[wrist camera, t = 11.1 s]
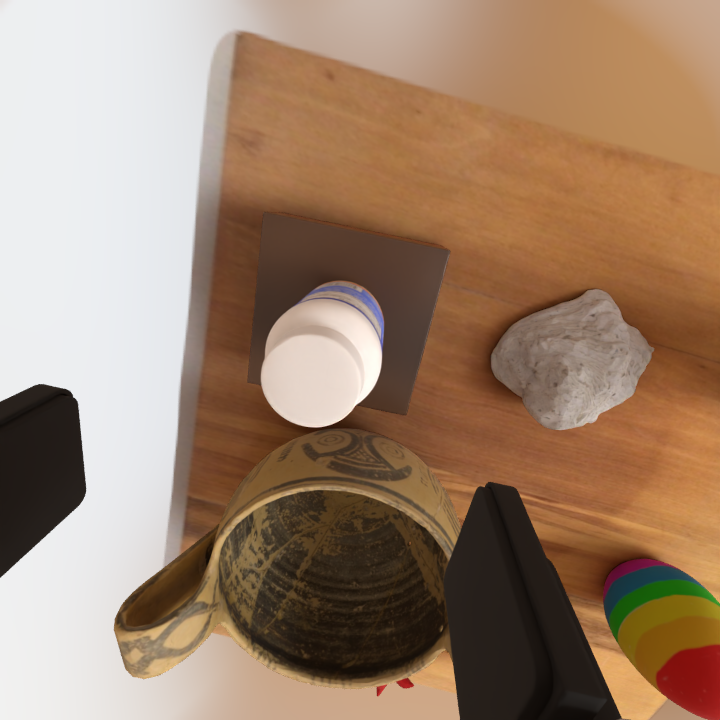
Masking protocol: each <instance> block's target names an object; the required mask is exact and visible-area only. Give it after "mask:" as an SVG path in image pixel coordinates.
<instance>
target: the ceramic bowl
mask: <svg viewBox="0 0 720 720" xmlns="http://www.w3.org/2000/svg"><path fill="white" fill-rule="evenodd" d="M460 531H461V526H460V523H459V520H458V517H457V514H456V511H455V509H454V507H453V504H452V502H451V500H450V498H449V496H448V494H447V492H446V490H445V489H444V487H443V486H442V484H441V483H440V481H439V480H438V479H437V477H436V476H435V474H434V473H433V472H432V471H431V470H430V469H429V468H428V466H427V465H426V464H425V463H424V462H423V461H422V460H421V459H420V458H419V457H418V456H417V455H415V454H414V453H413V452H411V451H410V450H409V449H407V448H406V447H404V446H403V445H401V444H399V443H397V442H395V441H393V440H391V439H389V438H387V437H385V436H382V435H380V434H377V433H374V432H370V431H366V430H361V429H350V428H334V429H325V430H320V431H316V432H312V433H309V434H307V435H304V436H301V437H298V438H295V439H293V440H291V441H289V442H287V443H286V444H284V445H282V446H280V447H279V448H277V449H275V450H274V451H272V452H271V453H270V454H269V455H267V456H266V457H265V458H264V459H263V460H261V461H260V462H259V463H258V464H257V465H256V466H255V467H254V468H253V469H252V470H251V471H250V473H249V474H248V475H247V476H246V477H245V478H244V479H243V481H242V482H241V483H240V485H239V486H238V488H237V489H236V491H235V492H234V494H233V496H232V497H231V499H230V501H229V503H228V505H227V508H226V510H225V512H224V514H223V517H222V519H221V522H220V523H219V524H218V525H217V526H216V527H215V528H214V529H213V530H211V531H210V532H209V533H208V534H206V535H205V536H204V537H203V538H201V539H200V540H199V541H197V542H196V543H195V544H194V545H192V546H191V547H190V548H189V549H187V550H186V551H185V552H183V553H182V554H181V555H180V556H178V557H177V558H176V559H175V560H173V561H172V562H171V563H169V564H168V565H167V566H165V567H164V568H163V569H162V570H161V571H159V572H158V573H156V574H155V575H154V576H152V577H151V578H150V579H148V580H147V581H146V582H145V583H143V584H142V585H141V586H140V587H139V588H138V589H136V590H135V591H134V592H133V593H132V594H131V595H130V596H129V597H128V598H127V599H126V600H125V602H124V603H123V604H122V606H121V607H120V609H119V611H118V613H117V615H116V618H115V624H114V631H115V635H116V638H117V642H118V645H119V648H120V652H121V656H122V659H123V662H124V665H125V669H126V670H127V671H128V672H129V673H130V674H131V675H132V676H133V677H138V678H142V679H146V678H151V677H155V676H158V675H161V674H162V673H164V672H166V671H168V670H169V669H171V668H173V667H174V666H175V665H177V664H178V663H180V662H181V661H183V660H184V659H186V658H187V657H188V656H189V655H191V654H192V653H193V652H194V651H195V650H196V649H197V648H198V647H199V646H200V645H201V644H202V643H203V642H204V641H205V640H206V639H207V638H208V637H209V635H210V634H211V633H212V631H213V630H214V628H215V627H216V625H217V624H221V625H222V626H223V627H224V628H225V629H226V631H227V632H228V633H229V635H230V636H231V637H232V639H233V640H234V641H235V642H236V643H237V644H238V645H239V646H240V647H242V648H243V649H244V650H245V651H246V652H247V653H248V654H250V655H251V656H252V657H253V658H255V659H256V660H258V661H259V662H260V663H262V664H263V665H265V666H266V667H267V668H269V669H271V670H273V671H275V672H277V673H279V674H281V675H283V676H285V677H288V678H291V679H294V680H297V681H299V682H304V683H310V684H311V685H316V686H323V687H329V688H344V689H362V688H370V687H378V686H383V685H387V684H391V683H394V682H397V681H399V680H402V679H405V678H408V677H410V676H412V675H414V674H416V673H417V672H419V671H421V670H423V669H424V668H426V667H428V666H429V665H430V664H431V663H433V662H434V661H435V660H436V658H437V657H438V655H439V654H440V653H442V652H443V651H446V650H447V651H448V652H449V654H450V656H451V659H452V662H453V658H452V650H451V641H450V633H449V625H448V617H447V609H446V601H445V592H444V575H445V571H446V568H447V565H448V562H449V560H450V557H451V555H452V552H453V549H454V547H455V544H456V541H457V539H458V536H459V534H460ZM420 534H421V535H420ZM409 542H411V544H410V545H409Z"/></svg>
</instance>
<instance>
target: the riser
mask: <svg viewBox="0 0 720 720" xmlns="http://www.w3.org/2000/svg"><path fill="white" fill-rule="evenodd" d="M449 255H450V250H448V249H447V248H445V247H443V246H441V245H436V244H432V243H427V242H422V241H417V240H412V239H407V238H403V237H398V236H393V235H388V234H383V233H379V232H374V231H369V230H364V229H359V228H354V227H350V226H345V225H340V224H335V223H330V222H325V221H321V220H316V219H311V218H306V217H301V216H296V215H292V214H287V213H280V212H264V213H263V222H262V233H261V243H260V254H259V264H258V275H257V286H256V296H255V307H254V317H253V328H252V339H251V349H250V360H249V370H248V381H247V382H248V383H253V384H257V385H261V369H262V365H263V362H264V359H265V347H266V342H267V338H268V335H269V333H270V331H271V329H272V327H273V326H274V324H275V323H276V321H277V320H278V319H279V318H280V317H281V316H282V315H283V314H284V313H286V312H287V311H288V310H289V309H290V308H292V307H293V306H294V305H296V304H297V303H298V302H299V301H301V300H302V299H303V298H304V297H305V296H307V295H308V294H309V293H310V292H311V291H312V290H314V289H315V288H317V287H318V286H320V285H322V284H325V283H328V282H332V281H349V282H353V283H356V284H358V285H360V286H362V287H364V288H365V289H366V290H368V291H369V292H370V293H371V294H372V295H373V296H374V298H375V299H376V300H377V302H378V304H379V306H380V308H381V311H382V314H383V318H384V336H383V347H382V363H381V370H380V374H379V377H378V380H377V382H376V384H375V386H374V387H373V389H372V390H371V392H370V393H369V394H368V395H367V396H366V397H365V398H364V399H363V400H362V401H361V402H360V403H358V404H357V405H358V406H362V407H367V408H372V409H377V410H381V411H386V412H391V413H396V414H401V415H406V414H407V411H408V407H409V403H410V400H411V396H412V392H413V388H414V385H415V381H416V377H417V374H418V370H419V366H420V362H421V359H422V355H423V351H424V348H425V344H426V340H427V336H428V333H429V329H430V325H431V322H432V318H433V314H434V310H435V307H436V303H437V299H438V296H439V292H440V288H441V284H442V281H443V277H444V273H445V270H446V266H447V262H448V258H449Z"/></svg>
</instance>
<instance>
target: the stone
mask: <svg viewBox="0 0 720 720" xmlns="http://www.w3.org/2000/svg"><path fill="white" fill-rule="evenodd" d="M654 350H655V349H654V348H653V347H650V346H649V345H648V342H647V340H646V339H645V338H644V337H643V336H642V335H641V333H640V332H639V330H638V329H637V328H635V327H632V326H630V325H628V324H627V323H626V322H625V321H624V320H623V318H622V315H621V312H620V310H619V308H618V306H617V305H616V304H615V302H614V301H613V299H612V298H611V296H610V295H609V294H608V293H606V292H604V291H602V290H600V289H594V290H588V291H586V292H585V293H584V294H583V295H582V296H580V297H579V298H576V299H574V300H571V301H568V302H563V303H560V304H558V305H556V306H553V307H551V308H548V309H544V310H542V311H539V312H536V313H533V314H531V315H529V316H527V317H525V318H523V319H521V320H519V321H518V322H516V323H514V324H513V325H512V326H511V327H510V328H509V329H508V330H507V331H506V333H505V334H504V335H503V336H502V338H501V339H500V341H499V342H498V344H497V346H496V347H495V349H494V350H493V353H492V354H491V368H492V371H493V373H494V376H495V377H496V378H497V379H498V380H499V381H501V382H502V383H503V384H504V385H505V386H506V387H508V388H509V389H510V390H511V391H513V392H514V393H515V394H516V395H518V396H520V397H522V398H523V404H524V406H525V407H526V409H527V411H528V412H529V413H530V414H531V416H532V417H533V418H534V419H535V420H536V421H537V422H539V423H540V424H541V425H543V426H544V427H546V428H549V429H553V430H565V429H570V428H574V427H581V426H583V425H584V424H586V423H593V422H594V421H596V419H597V417H598V415H599V414H600V413H602V412H604V411H607V410H609V409H610V408H612V407H614V406H616V405H618V404H621V403H623V402H624V401H625V400H626V399H628V398H629V397H631V396H632V395H633V394H634V392H635V390H636V389H635V387H636V385H637V382H638V379H639V377H640V376H641V374H642V373H643V372H644V371H645V368H646V365H647V364H648V363H649V362H650V360H651V353H652V352H653V351H654Z"/></svg>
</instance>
